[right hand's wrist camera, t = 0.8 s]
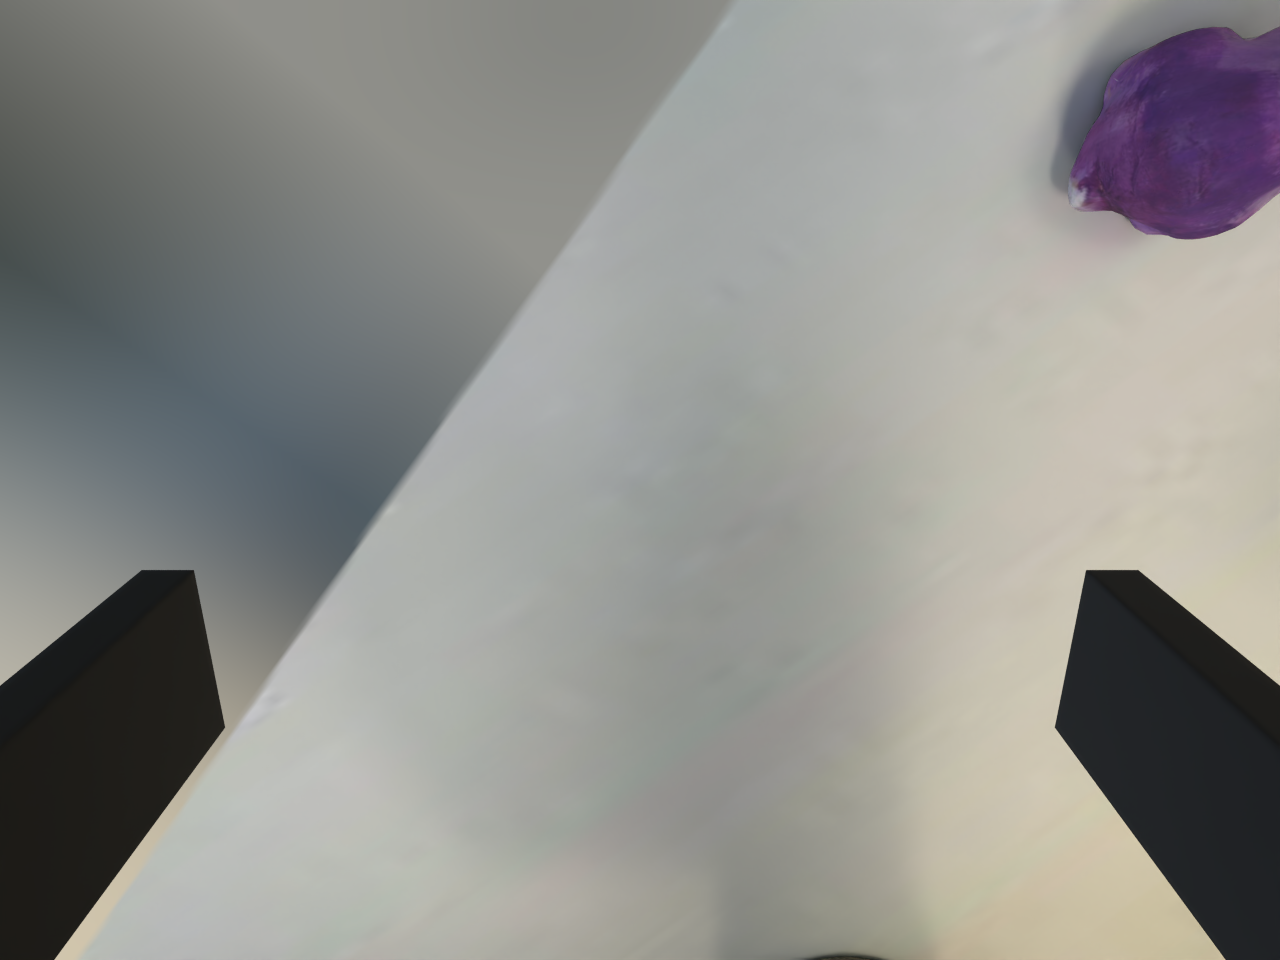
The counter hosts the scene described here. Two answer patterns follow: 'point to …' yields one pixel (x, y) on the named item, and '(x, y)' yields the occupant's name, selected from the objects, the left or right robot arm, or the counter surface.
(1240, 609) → the counter surface
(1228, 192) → the figurine
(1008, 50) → the counter surface
